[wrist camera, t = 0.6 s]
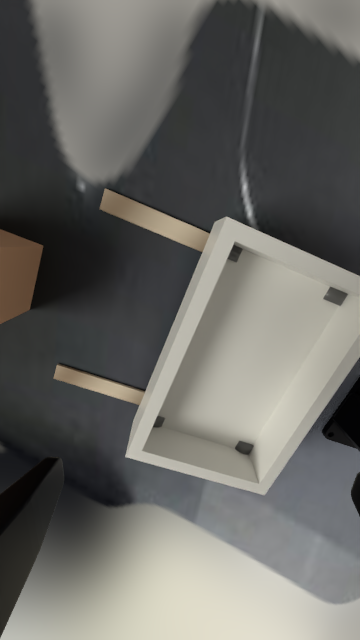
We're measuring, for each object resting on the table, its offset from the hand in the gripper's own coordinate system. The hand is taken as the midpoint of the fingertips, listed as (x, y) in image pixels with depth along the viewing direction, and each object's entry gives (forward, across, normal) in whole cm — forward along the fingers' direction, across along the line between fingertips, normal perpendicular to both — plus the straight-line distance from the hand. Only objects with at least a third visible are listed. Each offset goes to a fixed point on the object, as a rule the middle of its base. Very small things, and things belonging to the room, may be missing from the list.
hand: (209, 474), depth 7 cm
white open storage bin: (+11, -3, +1) cm, 11 cm away
